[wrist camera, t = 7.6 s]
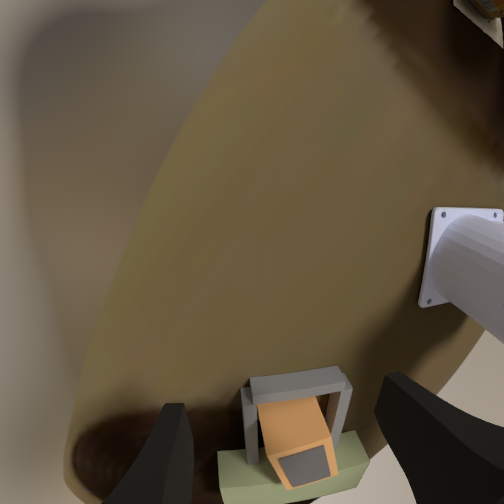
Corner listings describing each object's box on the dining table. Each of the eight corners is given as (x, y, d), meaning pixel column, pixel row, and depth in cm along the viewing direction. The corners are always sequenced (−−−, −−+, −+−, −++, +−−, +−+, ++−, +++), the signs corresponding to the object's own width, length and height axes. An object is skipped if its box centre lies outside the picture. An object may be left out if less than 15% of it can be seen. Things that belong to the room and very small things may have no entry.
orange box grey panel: (308, 381, 23) (332, 438, 17) (320, 426, 25) (339, 476, 19) (255, 397, 22) (267, 458, 17) (275, 440, 25) (287, 492, 19)
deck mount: (375, 357, 23) (400, 391, 18) (344, 458, 28) (356, 487, 23) (203, 380, 21) (203, 425, 17) (223, 477, 26) (226, 509, 22)
